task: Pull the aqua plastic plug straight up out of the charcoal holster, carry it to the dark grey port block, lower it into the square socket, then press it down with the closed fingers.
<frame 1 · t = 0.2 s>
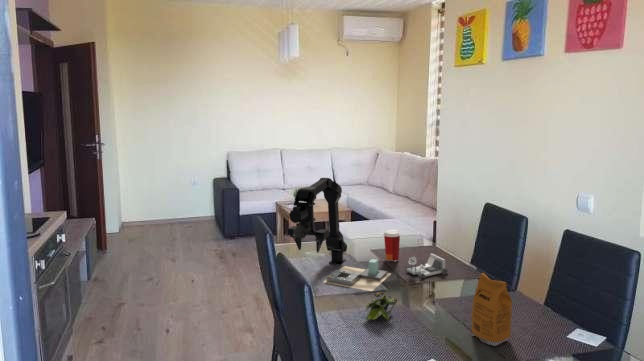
hand: (308, 251, 227), 15 cm above the table, tool pointing down, fingers open, 9 cm apart
port block: (343, 281, 230), resting on patch board
coffee cup: (392, 261, 253), on the table
coffee package: (490, 338, 175), on the table
patch board: (357, 279, 231), on the table
toy car: (424, 274, 236), on the table
plug: (373, 275, 233), point 1 cm above the table, touching patch board
passion flower: (382, 318, 193), on the table
holster: (373, 277, 233), resting on patch board
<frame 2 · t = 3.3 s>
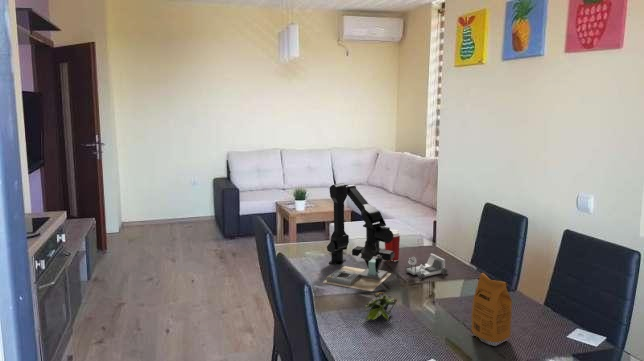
hand: (373, 271, 233), 3 cm above the table, tool pointing down, fingers closed on plug, 3 cm apart
plug: (373, 275, 233), point 1 cm above the table, touching gripper, patch board
everything else where it was.
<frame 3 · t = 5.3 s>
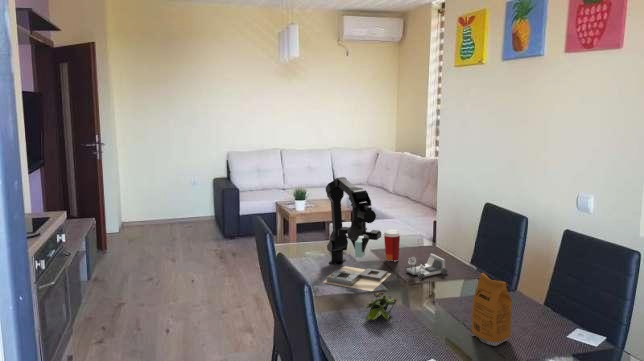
hand: (359, 251, 229), 13 cm above the table, tool pointing down, fingers closed on plug, 3 cm apart
plug: (360, 256, 230), point 11 cm above the table, touching gripper
everything else where it was.
when the fingers open (4 cm above the table, at t = 7.7 s): plug stays where it is, resting on patch board.
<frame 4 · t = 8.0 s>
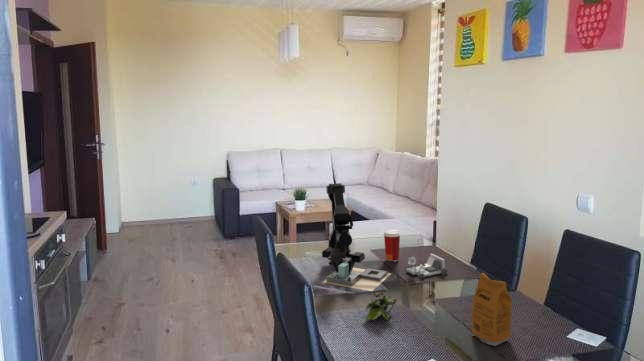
hand: (343, 273, 229), 4 cm above the table, tool pointing down, fingers open, 6 cm apart
plug: (343, 279, 229), point 1 cm above the table, touching patch board
everything else where it was.
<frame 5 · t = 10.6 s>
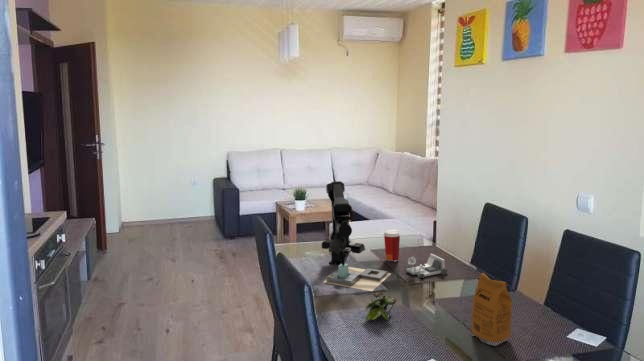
hand: (343, 264, 228), 8 cm above the table, tool pointing down, fingers closed
nothing on the table moved.
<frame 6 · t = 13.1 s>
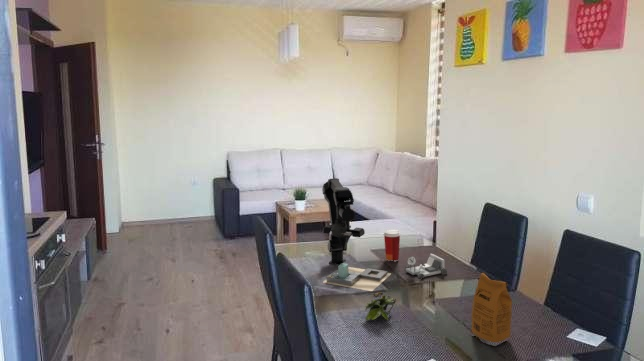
hand: (344, 248, 237), 12 cm above the table, tool pointing down, fingers closed
nothing on the table moved.
at the end: plug 0.0 cm off-centre on the port block, point 0.8 cm above the port block's base; plug tilted 0°; the gripper is holding nothing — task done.
